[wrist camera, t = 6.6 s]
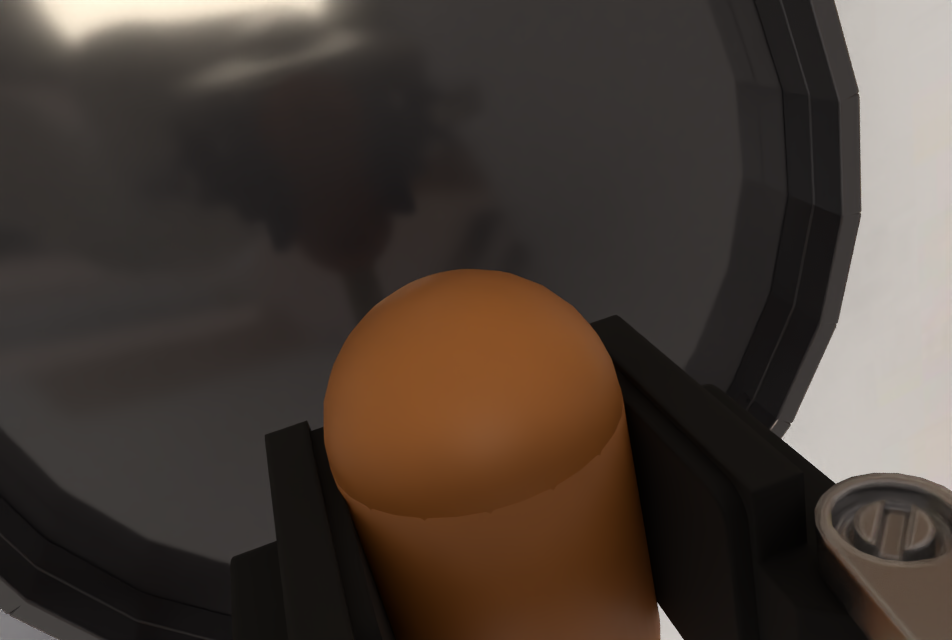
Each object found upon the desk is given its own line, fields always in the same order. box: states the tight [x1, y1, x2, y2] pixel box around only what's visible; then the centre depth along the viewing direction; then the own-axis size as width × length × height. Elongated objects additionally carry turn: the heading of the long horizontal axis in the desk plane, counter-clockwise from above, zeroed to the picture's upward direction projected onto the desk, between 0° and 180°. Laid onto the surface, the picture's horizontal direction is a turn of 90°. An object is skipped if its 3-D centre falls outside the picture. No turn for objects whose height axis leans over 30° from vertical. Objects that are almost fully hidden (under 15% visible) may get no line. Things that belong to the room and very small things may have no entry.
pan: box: [0, 0, 861, 640], centre depth 17 cm, size 20×20×2 cm
